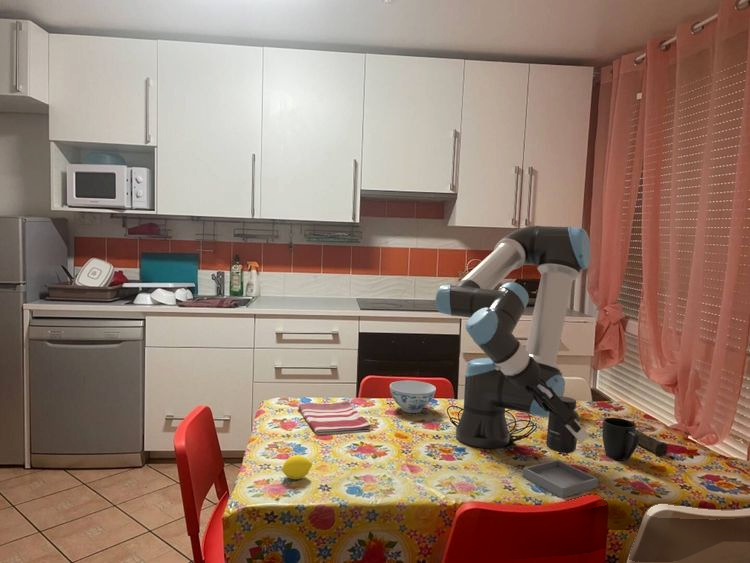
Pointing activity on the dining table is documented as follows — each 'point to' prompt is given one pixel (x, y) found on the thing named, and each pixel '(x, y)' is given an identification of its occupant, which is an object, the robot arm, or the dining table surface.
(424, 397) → the chinaware
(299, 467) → the lemon
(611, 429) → the mug
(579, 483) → the tray
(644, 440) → the hand tool
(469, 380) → the robot arm
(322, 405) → the dish towel
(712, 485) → the dining table surface
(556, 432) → the supplement bottle
